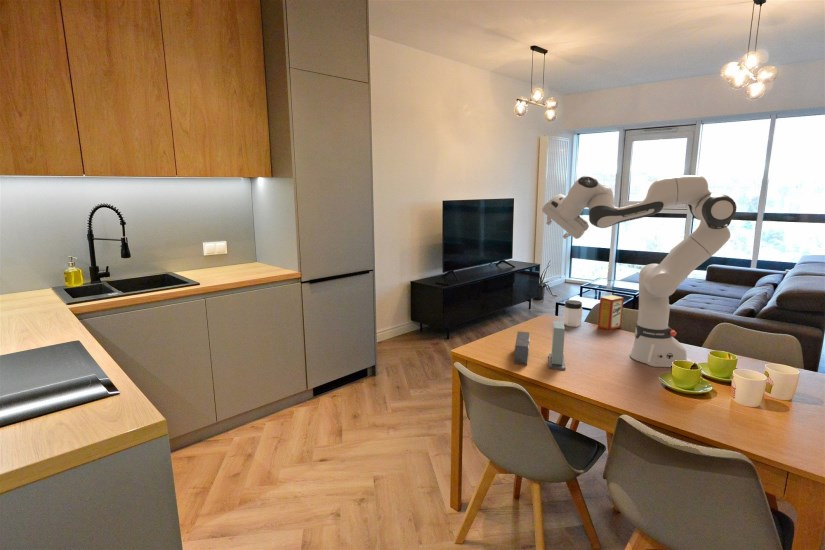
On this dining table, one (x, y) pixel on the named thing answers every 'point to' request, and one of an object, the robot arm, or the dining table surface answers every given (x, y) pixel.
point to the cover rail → (556, 366)
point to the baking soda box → (610, 312)
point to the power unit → (522, 348)
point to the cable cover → (558, 342)
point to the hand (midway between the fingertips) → (556, 230)
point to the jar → (572, 313)
